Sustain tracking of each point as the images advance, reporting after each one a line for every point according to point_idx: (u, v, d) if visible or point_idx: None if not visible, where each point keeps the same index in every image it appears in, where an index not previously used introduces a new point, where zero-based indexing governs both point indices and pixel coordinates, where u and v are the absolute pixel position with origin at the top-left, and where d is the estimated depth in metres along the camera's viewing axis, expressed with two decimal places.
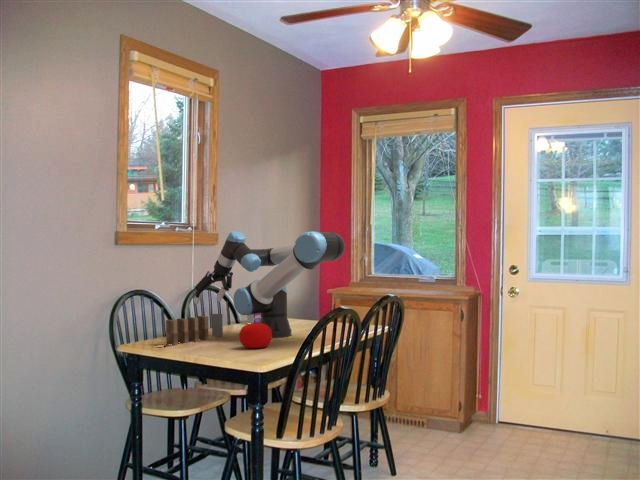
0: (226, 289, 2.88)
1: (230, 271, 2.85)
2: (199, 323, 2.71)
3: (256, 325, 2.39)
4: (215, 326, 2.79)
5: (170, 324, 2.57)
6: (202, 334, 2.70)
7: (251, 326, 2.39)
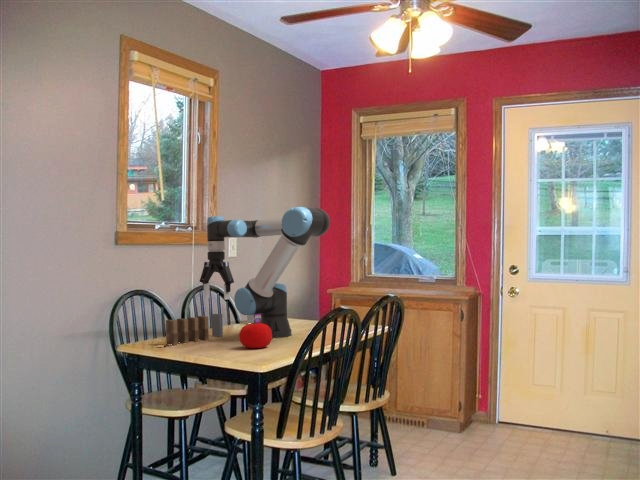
0: (207, 282, 2.86)
1: None
2: (199, 323, 2.71)
3: (256, 325, 2.39)
4: (215, 326, 2.79)
5: (170, 324, 2.57)
6: (202, 334, 2.70)
7: (251, 326, 2.39)
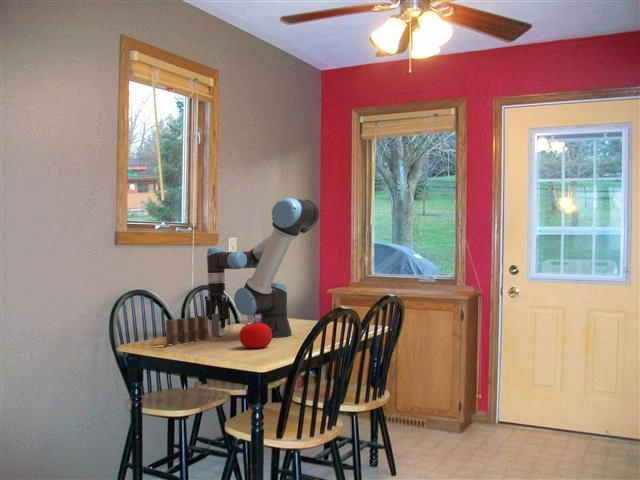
0: None
1: (207, 296, 2.84)
2: (199, 323, 2.71)
3: (256, 325, 2.39)
4: (215, 326, 2.79)
5: (170, 324, 2.57)
6: (202, 334, 2.70)
7: (251, 326, 2.39)
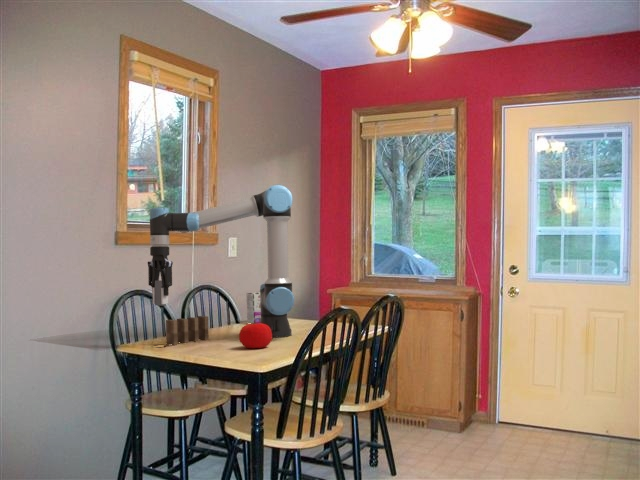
0: None
1: None
2: (199, 323, 2.71)
3: (256, 325, 2.39)
4: (158, 293, 2.54)
5: (170, 324, 2.57)
6: (202, 334, 2.70)
7: (251, 326, 2.39)
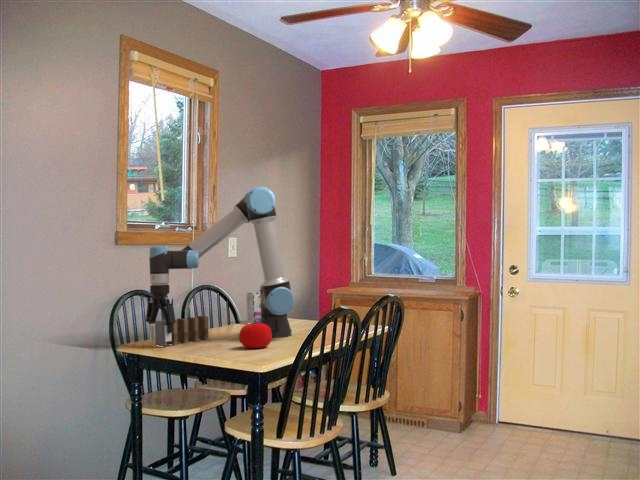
0: (154, 321, 2.58)
1: None
2: (199, 323, 2.71)
3: (256, 325, 2.39)
4: (158, 334, 2.53)
5: None
6: (202, 334, 2.70)
7: (251, 326, 2.39)
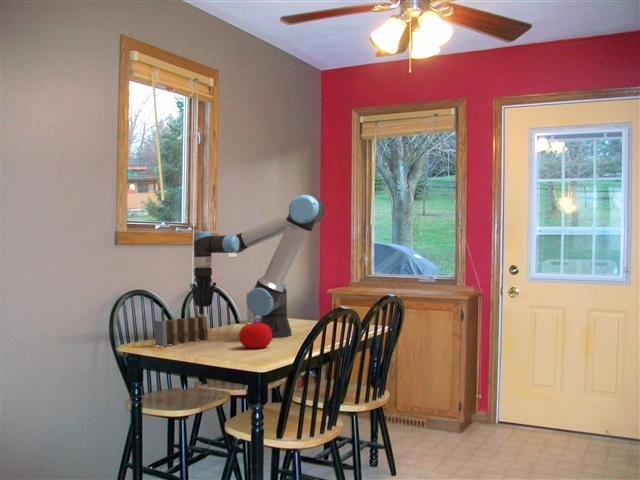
0: None
1: None
2: (198, 323, 2.70)
3: (256, 325, 2.39)
4: (158, 334, 2.53)
5: (170, 324, 2.57)
6: (201, 334, 2.69)
7: (251, 326, 2.39)
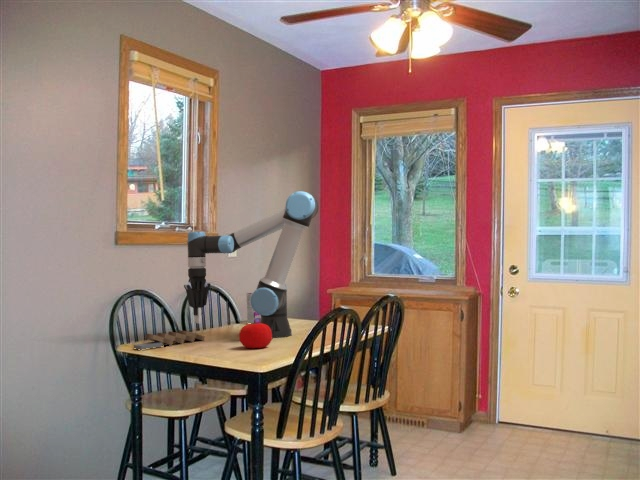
0: None
1: None
2: None
3: (256, 325, 2.39)
4: None
5: (152, 339, 2.50)
6: (196, 339, 2.67)
7: (251, 326, 2.39)
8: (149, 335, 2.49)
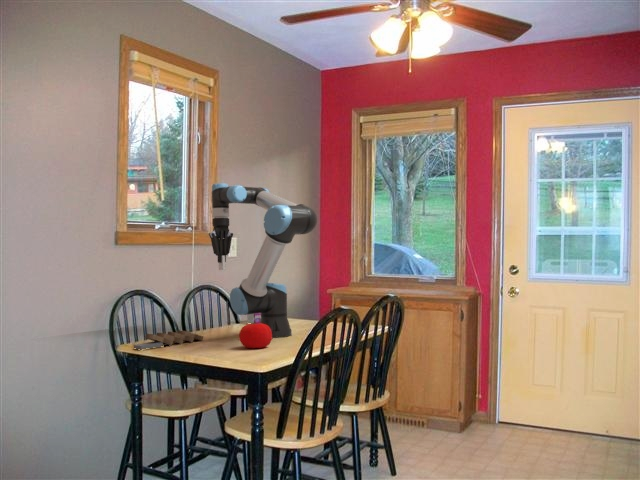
0: None
1: (211, 233, 2.80)
2: None
3: (256, 325, 2.39)
4: None
5: (152, 339, 2.50)
6: (195, 339, 2.67)
7: (251, 326, 2.39)
8: (149, 335, 2.49)
